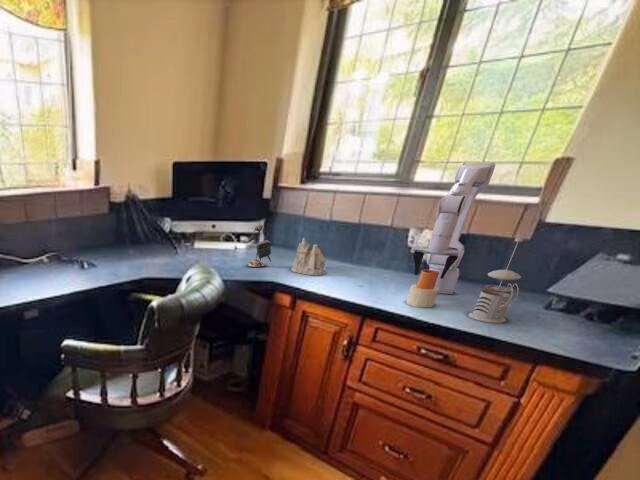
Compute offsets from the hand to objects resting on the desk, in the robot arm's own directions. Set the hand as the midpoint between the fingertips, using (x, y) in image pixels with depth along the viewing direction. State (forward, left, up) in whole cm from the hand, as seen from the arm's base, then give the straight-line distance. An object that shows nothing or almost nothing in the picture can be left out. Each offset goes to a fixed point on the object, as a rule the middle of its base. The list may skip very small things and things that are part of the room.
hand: (428, 276), depth 145 cm
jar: (0, 0, -10) cm, 10 cm away
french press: (-17, +11, -10) cm, 23 cm away
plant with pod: (+58, -45, -10) cm, 74 cm away
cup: (0, +1, -4) cm, 4 cm away
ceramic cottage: (+35, -41, -10) cm, 55 cm away
